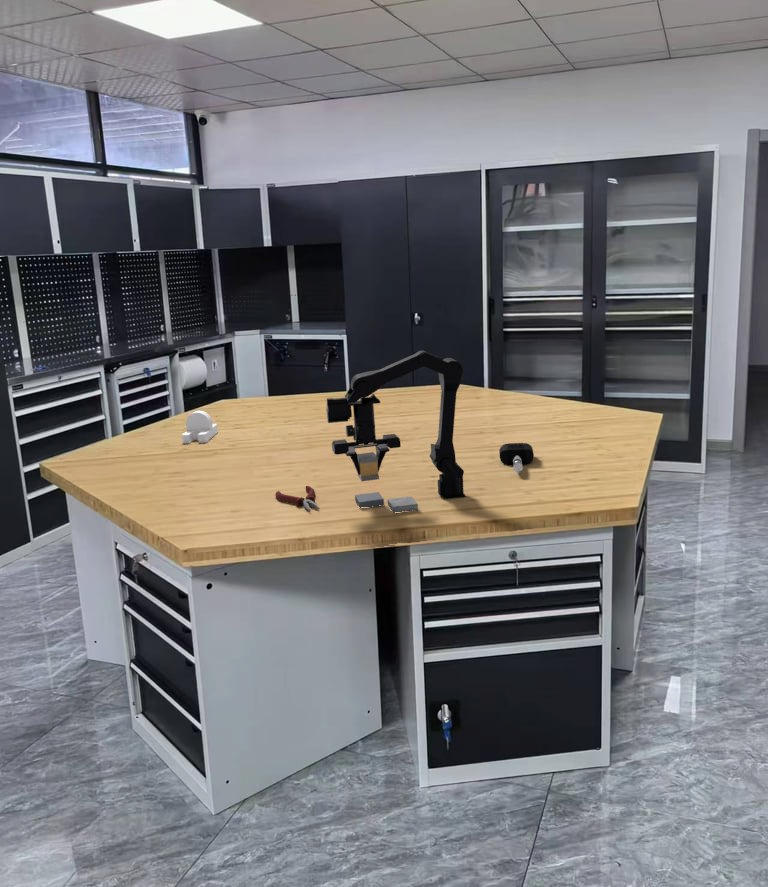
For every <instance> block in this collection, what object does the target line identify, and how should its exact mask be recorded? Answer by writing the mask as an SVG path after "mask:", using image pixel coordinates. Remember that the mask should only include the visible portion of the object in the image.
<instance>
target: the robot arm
mask: <svg viewBox="0 0 768 887" xmlns="http://www.w3.org/2000/svg"><path fill="white" fill-rule="evenodd" d="M421 368H427V369H430V370H432V371H434V372H436V373H438V379H439V380H438V381H439V384H440V390H441V393H440V406H439V418H438V432H437V434H438V436H437V440H436V442H435V444H434V443H430V455H429V458H430V460H431V462H432V464H433V466H434V467H435V468H436V469H437V470H438V472H440V473H441V474H438V475H439V479H437V493H438V494H439V495H440V497H441V498H443V500H449V499H450V500H451V499H457V498H458V499H459V498H464V497H466V494H465V493H464V473H465V471H464V469H463V468H462V466H460V465H459V464H458V462H456V452H455V446H454V441H453V440H454V430H455V429H454V428H455V416H456V404H457V393H458V390H459V388H460V385H461V382H462V379H463V375H464V367H463V365H462V364H461V363H460V362H458V361H457V360H455V359H454V358H451V357H445V358H441V357H439V356H436V355H434V354H431V353H429V352H427V351H425V350H419V351H417V352H416V353H414V354H412V355H410V356H407V357H405V358H402V359H400V360H399V361H396V362H393V363H390V364H389V365H386V366H385V367H383V368H381V369H377V370H370V371H365V372H360V373H357V374H355V375H353V377H352V378H351V381H350V387H349V388H348V390H347V392H346V394H344V397H337V398H334V397H330V398H327V399H326V411H325V412H326V419H327V420H326V421H327V423H328V424H334V423H345V422H346V423H347V422H349V420H350V419H351V418H352V416H353V422H354V425H353V424H349V425H345V432H346V437H347V438H351V437H352V438H353V440H354V441H351V442H348V441H347V440H346V439H337V440H335V439H334V440H332V442H331V451H332V452H333V455H337V456H338V455H346V457H350V459H351V461H352V463H353V466H354V468H355V470H356V473H357V476H358V475H360V469H359V463H358V457H357V454H358V453H357V451H356V449H361V448H362V449H363V448H371V447H375V455H376V456H377V457H378V462H377V463H378V473H380V472H379V471H380V468H381V466H382V462H383V460H384V458H385V456H386V454H387V452H390V451H391V450H390V449H397V448H401V439H400V437H399V436H398V435H396V433H391V434H382V438H377V436H376V435H377V434H376V420H375V406H374V404H381V400H380V398H378V397H377V396H376V395H375V394H374V393H376V392H377V391H378V390H379V389H380V388H382V387H383V386H384V385H386V384H387V383H389V382H392V381H394V380H396V379H399V378H401V377H403V376H405V375H408V374H410V373H412V372H415V371H416V370H419V369H421ZM352 410H353V415H352Z"/></svg>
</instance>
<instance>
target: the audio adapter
mask: <svg viewBox="0 0 768 887" xmlns="http://www.w3.org/2000/svg"><path fill="white" fill-rule="evenodd" d="M533 448H534V447H532V445H531V444H529V443H527V442H525V443H524V442H514V443H513V442H508V443H504V444H502V445H501V446H500V448H499V449H498V450H499V459H500V461H501V463H502V464H503V465H505V466H513V471H514V472H515V473H519V474H520V473H522V471H523V470H524V469H523V466H528V465H530V464H531V463H532V462H533V461H534V457H535V454H534V449H533Z"/></svg>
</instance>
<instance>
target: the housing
mask: <svg viewBox="0 0 768 887" xmlns="http://www.w3.org/2000/svg"><path fill="white" fill-rule="evenodd" d="M357 457H358V463H359V469H360V475H358V474H357V477H358V479H360V482H365V481H376V480H380V474H379V472H378V463H377V462H378V457H377V456H376V452H374V451H371V452H363V453H362V452H361V453H357Z"/></svg>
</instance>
